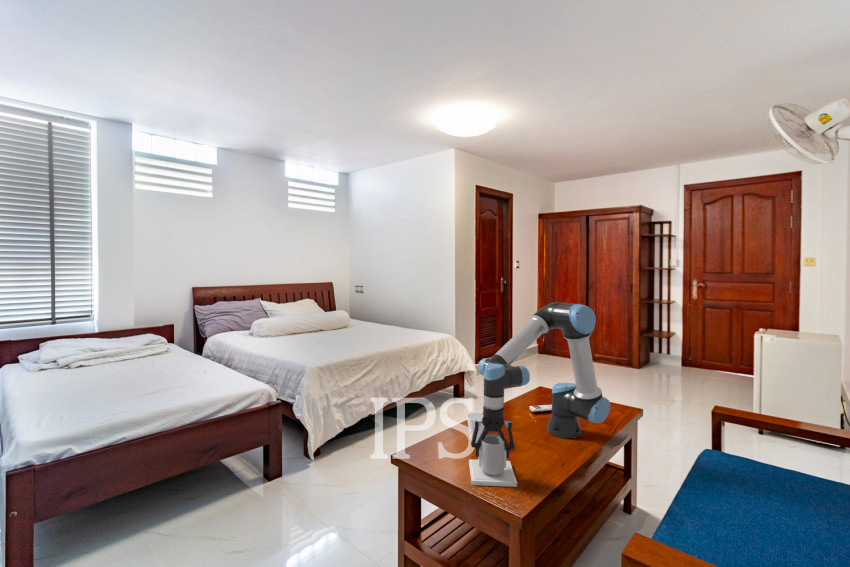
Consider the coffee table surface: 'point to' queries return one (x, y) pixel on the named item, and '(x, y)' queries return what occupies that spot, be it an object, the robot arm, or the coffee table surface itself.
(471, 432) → the cup
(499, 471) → the mug
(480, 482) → the plate
